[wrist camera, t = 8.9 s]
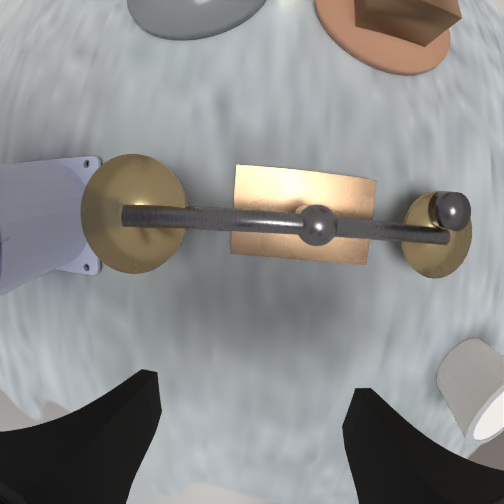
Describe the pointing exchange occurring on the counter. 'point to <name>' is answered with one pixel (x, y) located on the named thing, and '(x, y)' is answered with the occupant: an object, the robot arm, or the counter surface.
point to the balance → (265, 218)
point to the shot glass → (474, 389)
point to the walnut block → (407, 18)
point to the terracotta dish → (378, 42)
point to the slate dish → (191, 16)
